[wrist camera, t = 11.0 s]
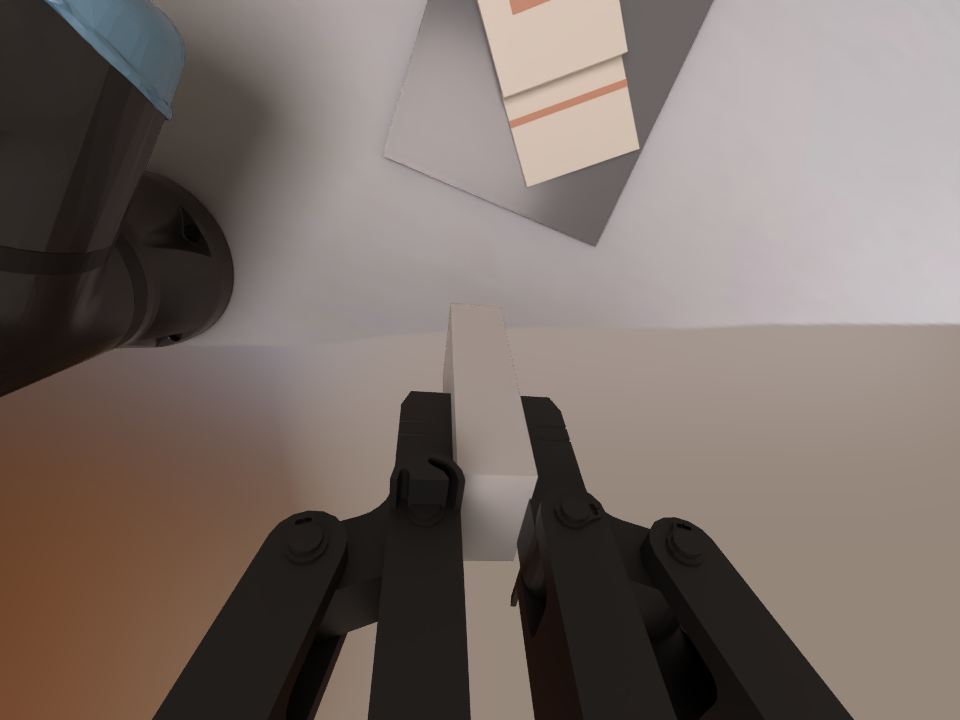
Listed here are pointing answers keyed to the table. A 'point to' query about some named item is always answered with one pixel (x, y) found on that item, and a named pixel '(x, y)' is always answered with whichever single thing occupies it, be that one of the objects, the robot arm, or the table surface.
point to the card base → (572, 122)
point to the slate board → (483, 121)
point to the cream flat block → (549, 38)
